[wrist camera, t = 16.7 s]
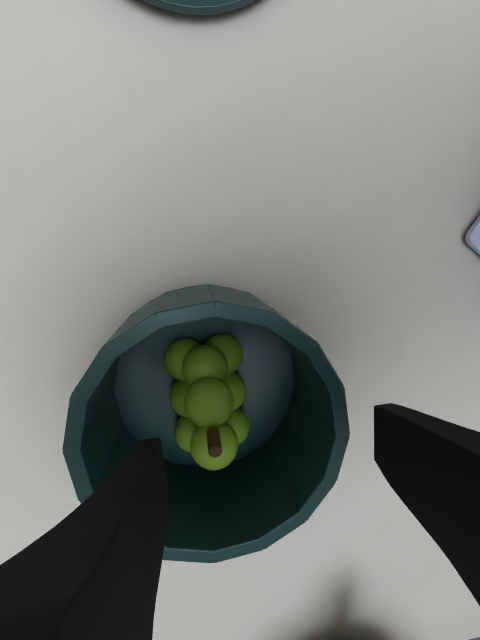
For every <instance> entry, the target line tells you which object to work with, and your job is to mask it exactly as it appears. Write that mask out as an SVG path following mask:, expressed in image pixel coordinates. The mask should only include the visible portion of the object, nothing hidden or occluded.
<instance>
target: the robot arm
mask: <svg viewBox="0 0 480 640" xmlns="http://www.w3.org/2000/svg"><path fill="white" fill-rule="evenodd" d="M465 239H466V243H467V244H468V245H469V246H470V247H471V248H472V249H473V250H474V251H476V252H477V253H478V254H479V255H480V216H479V217H478V218H477V220H476V221H475V222H474V224H473V225H472V226H471V228H470V229H469V230H468V232H467V234H466V238H465ZM374 460H375V461H376V463H377V465H378V467H379V468H380V470H381V472H382V473H383V475H384V477H385V478H386V480H387V481H388V483H389V484H390V486H391V487H392V489H393V490H394V491H395V492H396V494H397V495H398V496H399V497H400V499H401V500H402V501H403V502H404V504H405V505H406V506H407V507H408V509H409V510H410V511H411V512H412V514H413V515H414V516H415V517H416V519H417V520H418V521H419V522H420V523H421V525H422V526H423V527H424V528H425V530H426V531H427V532H428V533H429V535H430V536H431V537H432V538H433V539H434V541H435V542H436V543H437V544H438V546H439V547H440V548H441V550H442V551H443V552H444V554H445V555H446V556H447V558H448V559H449V560H450V562H451V563H452V565H453V566H454V568H455V569H456V571H457V572H458V574H459V575H460V577H461V578H462V580H463V581H464V583H465V584H466V586H467V587H468V589H469V590H470V592H471V593H472V595H473V596H474V598H475V599H476V601H477V602H478V604H479V606H480V432H478V431H474V430H471V429H468V428H465V427H462V426H459V425H456V424H453V423H450V422H447V421H444V420H441V419H438V418H436V417H433V416H430V415H427V414H424V413H421V412H419V411H416V410H413V409H410V408H407V407H404V406H400V405H396V404H392V403H389V404H383V405H376V406H374ZM168 496H169V492H168V486H167V479H166V473H165V466H164V459H163V453H162V446H161V439H160V437H157V438H150V439H144V440H140V441H139V442H138V444H137V445H136V446H135V447H134V448H133V449H132V451H131V452H130V453H129V454H128V455H127V456H126V458H125V459H124V460H123V461H122V462H121V463H120V465H119V466H118V467H117V468H116V469H115V470H114V471H113V472H112V474H111V475H110V476H109V477H108V478H107V479H106V480H105V481H104V482H103V483H102V484H101V485H100V486H99V487H98V488H97V489H96V490H95V491H94V492H93V493H92V494H91V495H90V496H89V497H88V498H87V499H86V500H85V501H84V502H83V503H82V504H81V505H80V506H78V507H77V508H76V509H75V510H74V511H73V512H72V513H70V514H69V515H68V516H67V517H66V518H64V519H63V520H62V521H61V522H60V523H58V524H57V525H56V526H55V527H53V528H52V529H51V530H49V531H48V532H47V533H45V534H44V535H43V536H41V537H40V538H39V539H37V540H36V541H34V542H33V543H32V544H30V545H29V546H28V547H26V548H25V549H23V550H22V551H21V552H19V553H18V554H16V555H15V556H13V557H12V558H10V559H9V560H7V561H6V562H4V563H3V564H1V565H0V640H152V633H153V619H154V611H155V602H156V595H157V589H158V583H159V576H160V570H161V563H162V557H163V551H164V544H165V538H166V531H167V524H168ZM469 640H480V637H478V638H474V639H469Z"/></svg>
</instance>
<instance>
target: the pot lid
mask: <svg viewBox="0 0 480 640" xmlns="http://www.w3.org/2000/svg"><path fill="white" fill-rule="evenodd" d="M142 1H144V2H146V3H149V4H151V5H154V6H156V7H158V8H161V9H164V10H168V11H172V12H176V13H181V14H190V15H214V14H219V13H225V12H230V11H233V10H236V9H238V8H241V7H244V6H246V5H248V4H250V3H252V2H254V1H256V0H142Z"/></svg>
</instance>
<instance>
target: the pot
mask: <svg viewBox="0 0 480 640" xmlns="http://www.w3.org/2000/svg"><path fill="white" fill-rule="evenodd" d="M218 334H227V335H230V336H232V337H234V338H235V339H236V340H237V341H238V342H239V343H240V345H241V347H242V350H243V360H242V363H241V365H240V366H239V368H238V369H237V370H236V371H235V372H234V373H236V374H238V375H239V376H240V377H241V378H242V379H243V381H244V382H245V385H246V398H245V400H244V402H243V404H242V405H241V406H240V407H239V408H240V409H241V410H243V411H244V412H245V414H246V415H247V417H248V419H249V424H250V429H249V433H248V436H247V437H246V439H245V440H244V441H243V442H242V443H241V444H239V445H238V450H237V453H236V456H235V458H234V459H233V461H232V462H231V463H230V464H229V465H228V466H226V467H224V468H222V469H219V470H208V469H205V468H203V467H201V466H200V465H198V464H197V463H196V461H195V460H194V459H193V457H192V454H191V453H190V452H187V451H184V450H183V449H181V448H180V447H179V445H178V444H177V442H176V440H175V437H174V429H175V425H176V423H177V421H178V419H179V418H180V417H181V416H180V415H179V414H177V413H176V412H175V411H174V410H173V409H172V407H171V405H170V401H169V393H170V390H171V387H172V386H173V384H174V383H175V382H176V381H177V380H178V379H175V378H174V377H172V376H171V375H170V374H169V373H168V372H167V370H166V368H165V366H164V354H165V352H166V350H167V348H168V347H169V345H170V344H172V343H173V342H174V341H176V340H179V339H192V340H194V341H196V342H198V343H199V344H200V345H205V343H206V342H207V341H208V339H210V338H211V337H213V336H215V335H218ZM349 434H350V431H349V422H348V414H347V405H346V397H345V388H344V386H343V383H342V381H341V380H340V378H339V376H338V375H337V373H336V371H335V370H334V368H333V367H332V365H331V363H330V362H329V360H328V358H327V357H326V355H325V353H324V352H323V350H322V348H321V347H320V345H319V344H318V343H317V341H315V340H314V339H313V338H311V337H310V336H309V335H307V334H306V333H305V332H303V331H302V330H301V329H299V328H298V327H296V326H295V325H294V324H292V323H291V322H290V321H288V320H287V319H286V318H284V317H283V316H282V315H280V314H279V313H277V312H276V311H275V310H273V309H272V308H270V307H269V306H267V305H266V304H264V303H263V302H261V301H260V300H259V299H257V298H256V297H254V296H253V295H251V294H250V293H247V292H243V291H239V290H235V289H231V288H228V287H221V286H214V285H200V286H192V287H186V288H182V289H178V290H174V291H170V292H166V293H164V294H162V295H161V296H159V297H158V298H156V299H154V300H152V301H151V302H149V303H148V304H146V305H145V306H144V307H142V308H141V309H139V310H138V311H136V312H135V313H133V314H132V315H130V317H129V318H128V319H127V320H126V321H125V322H124V323H123V324H122V326H121V327H120V328H119V329H118V330H117V331H116V332H115V333H114V335H113V336H112V337H111V338H110V339H109V340H108V341H107V342H106V344H105V345H104V346H103V347H102V348H101V350H100V351H99V353H98V354H97V356H96V357H95V359H94V360H93V362H92V363H91V365H90V366H89V368H88V370H87V371H86V373H85V374H84V376H83V377H82V379H81V380H80V382H79V383H78V385H77V386H76V388H75V389H74V391H73V392H72V394H71V397H70V401H69V408H68V415H67V422H66V429H65V436H64V443H63V454H64V457H65V460H66V463H67V467H68V470H69V473H70V476H71V479H72V482H73V485H74V488H75V491H76V494H77V497H78V500H79V501H80V503H81V504H82V503H83V502H84V501H85V500H86V499H87V498H88V497H89V496H90V495H91V494H92V493H93V492H94V491H95V490H96V489H97V488H98V487H99V486H100V485H101V484H102V483H103V482H104V481H105V480H106V479H107V478H108V477H109V476H110V475H111V474H112V472H113V471H114V470H115V469H116V468H117V467H118V466H119V465H120V463H121V462H122V461H123V460H124V459H125V458H126V456H127V455H128V454H129V453H130V452H131V451H132V449H133V448H134V447H135V446H136V445H137V444H138V442H139V441H140V440H144V439H150V438H157V437H160V439H161V446H162V453H163V459H164V466H165V473H166V479H167V486H168V492H169V496H168V524H167V531H166V538H165V544H164V551H163V557H162V559H163V560H170V561H186V562H201V563H213V562H214V563H217V562H220V561H224V560H228V559H232V558H235V557H239V556H243V555H246V554H250V553H254V552H257V551H261V550H263V549H266V548H267V547H269V546H270V545H272V544H273V543H275V542H276V541H278V540H279V539H281V538H282V537H284V536H285V535H287V534H288V533H290V532H291V531H293V530H294V529H296V528H297V527H299V526H300V525H302V524H303V523H305V522H306V521H307V520H308V519H309V517H310V516H311V515H312V513H313V512H314V511H315V509H316V508H317V507H318V505H319V504H320V503H321V501H322V500H323V499H324V498H325V496H326V495H327V494H328V492H329V491H330V490H331V488H332V487H333V486H334V484H335V483H336V481H337V478H338V475H339V471H340V468H341V464H342V461H343V457H344V454H345V451H346V447H347V444H348V440H349Z"/></svg>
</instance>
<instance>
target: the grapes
mask: <svg viewBox="0 0 480 640" xmlns="http://www.w3.org/2000/svg"><path fill="white" fill-rule="evenodd" d="M242 360H243V350H242V347H241V345H240V343H239V342H238V341H237V340H236V339H235V338H234V337H232V336H230V335H227V334H218V335H215V336H213V337H211V338H210V339H208V341H207V342H206V343H205V345H200V344H199V343H198V342H196V341H194V340H192V339H179V340H176V341H174V342H173V343H172V344H170V345H169V347H168V348H167V350H166V352H165V354H164V366H165V368H166V370H167V372H168V373H169V374H170V375H171V376H172V377H174V378H175V379H178V380H177V381H176V382H175V383H174V384H173V386H172V387H171V390H170V393H169V401H170V405H171V407H172V409H173V410H174V411H175V412H176V413H177V414H179V415H180V416H181V417H180V418H179V419H178V421H177V423H176V425H175V429H174V437H175V440H176V442H177V444H178V445H179V447H180V448H181V449H183V450H184V451H187V452H190V453H191V454H192V457H193V459H194V460H195V461H196V463H197V464H198V465H200V466H201V467H203V468H205V469H208V470H219V469H222V468H224V467H226V466H228V465H229V464H230V463H231V462H232V461H233V459H234V458H235V456H236V453H237V450H238V445H239V444H241V443H242V442H243V441H244V440H245V439H246V437H247V436H248V433H249V429H250V424H249V419H248V417H247V415H246V414H245V412H244V411H243V410H241V409H240V408H239V407H240V406H241V405H242V404H243V402H244V400H245V398H246V385H245V382H244V381H243V379H242V378H241V377H240V376H239V375H238V374H236V373H234V372H235V371H236V370H237V369H238V368H239V366H240V365H241V363H242Z"/></svg>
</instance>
